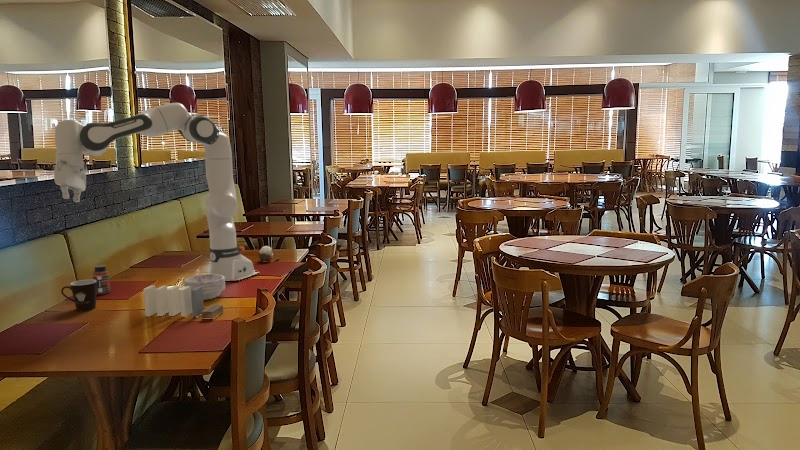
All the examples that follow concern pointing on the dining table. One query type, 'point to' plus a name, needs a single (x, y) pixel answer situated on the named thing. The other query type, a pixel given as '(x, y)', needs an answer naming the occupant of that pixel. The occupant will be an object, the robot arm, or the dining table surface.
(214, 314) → the end block
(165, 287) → the domino
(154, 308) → the domino
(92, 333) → the dining table surface
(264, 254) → the skull
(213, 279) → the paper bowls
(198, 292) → the domino
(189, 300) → the domino
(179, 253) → the dining table surface
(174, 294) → the domino
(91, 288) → the coffee mug
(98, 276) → the supplement bottle
